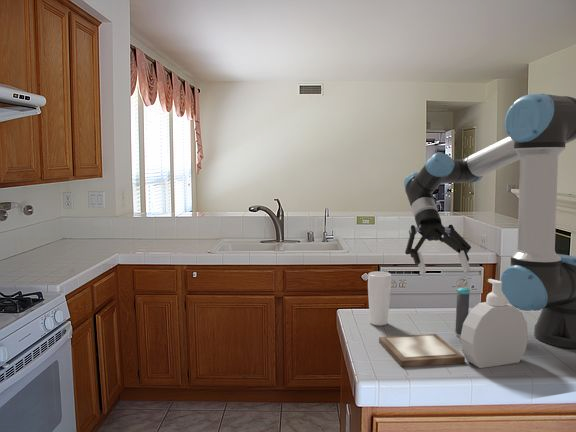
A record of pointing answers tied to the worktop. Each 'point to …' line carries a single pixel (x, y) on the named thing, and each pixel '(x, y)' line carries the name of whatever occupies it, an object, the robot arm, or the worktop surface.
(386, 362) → the worktop surface
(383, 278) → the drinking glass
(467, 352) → the soap bottle
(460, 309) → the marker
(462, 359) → the writing board
